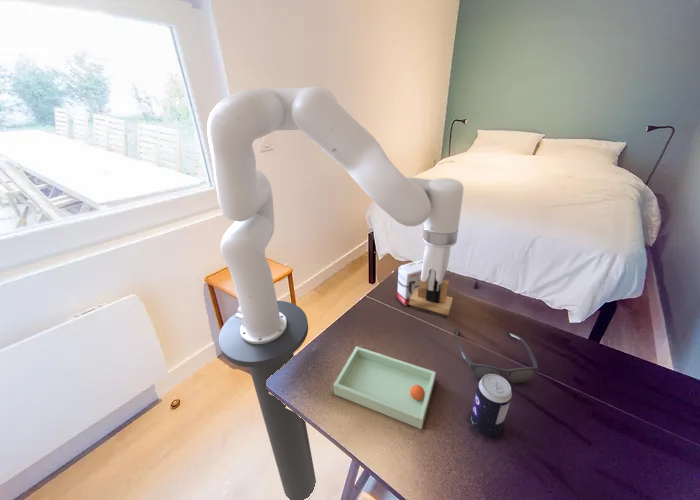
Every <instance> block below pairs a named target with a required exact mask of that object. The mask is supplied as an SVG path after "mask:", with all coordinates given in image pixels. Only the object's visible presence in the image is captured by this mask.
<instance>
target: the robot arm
mask: <svg viewBox="0 0 700 500" xmlns="http://www.w3.org/2000/svg"><path fill="white" fill-rule="evenodd" d="M278 131H301V132H302V133H303V134H304V135H305V136H306V137H307V138H308V139H310V140H311V142H313V143H314V144H315V145H316V146H317V147H319V148H320V149H321V150H322V151H323V152H325V154H327V155H328V156H329V157H330V158H331V159H333V160H334V162H336V163H337V164H338V165H339V166H340V167H341V168H342V169H344V171H346V172H347V173H348V174H349V176H350V177H351V178H352V180H353V181H354V182H355V183H356V184H357V185H358V186H359V187H360V188H361V189H362V190H363V192H365V194H366V195H367V196H368V197H369V198H370V199H371V200H372V201H373V203H375V204H376V205H377V206H378V207H379V208H380V209H382V210H383V211H384V212H385V213H386V214H388V215H389V216H390V217H391V218H392V219H393V220H395V222H397V223H398V224H400V225H403V226H405V227H417V226H420V225H423V232H422V234H423V235H422V240H423V242H424V243H425V246H424V252H423V257H422V258H423V259H422V261H423V265H422V273H421V281H422V282H425V281H426V280H427V278H428V285H427V293H426V300H427V301H430V302H435V303H439V298H440V289H439V287H440V284H441V283H442V281H443V279H444V278H445V275H446V273H447V270H448V266H449V261H450V256H451V248H452V247H454V246H455V245H456V244H457V241H458V234H459V227H460V220H461V212H462V204H463V197H464V185H463V184H462V182H461V181H459V180H457V179H453V178H449V177H448V178H445V177H444V178H443V177H442V178H441V177H440V178H436V179H427V178H419V177H409V176H408V177H407V176H405V175H404V174H403V173H402V172H401V171H400V170H399V169H398V168H397V167H396V166H395V165H394V163H393V162H392V161H391V159H390V158H389V157H388V156H387V154H386V153H385V150H384V149H383V148H382V146H381V145H380V143H379V142H378V140H377V139H376V138H375V137H374V136H373V135H372V133H370V132H369V131H368V130H367V129H366V128H365V127H364V126H363V125H361V124H360V123H359V122H358V121H357V120H356V119H355V118H354V117H353V115H351V114H350V113H348V111H347V110H346V109H345V108H344V107H343V106H341V104H339V103H338V101H337V98H336V97H335V94H333V92H332V91H330V89H328V88H325V87H323V86H308V87H307V86H306V87H278V88H277V87H273V88H272V87H271V88H268V87H267V88H253V89H252V88H251V89H244V90H240V91H237V92H235V93H232V94H230V95H228V96H226V97H225V98H223V99H222V100H221V101H219V102H218V103H217V104H216V105H215V106H214V107H213V109H212V110H211V112H210V113H209V117H208V120H207V139H208V144H209V145H208V146H209V149H210V155H211V160H212V161H211V162H212V167H213V175H214V181H215V188H216V189H215V190H216V195H217V201H218V206H219V208H220V211H221V214H223V216H224V217H225V218H227V219H228V220H230V221H232V222H233V223H232V224H231V225H230V227H229V228H228V229H227V230H226V232H225V233H224V234H223V237H222V238H221V241H220V254H221V256H222V259H223V261H224V262H225V264H226V267H227V269H228V272H229V273H230V276H231V281H232V284H233V288H234V290H235V294H236V298H237V302H238V305H239V306H238V307H237V312H240V313H242V314H239V313H237V312H236V313H237V314H236V315H235V317H236V318H238V319H241V321H242V325H241V328H240V333H241V336H242V338H243V339H244V340H245V341H246V342H248V343H252V344H264V343H268V342H271V341H273V340H275V339H277V338H278V337H279V336H281V335H282V334H283V333H284V331H285V329H286V327H287V320H286V317H285V316H284V315H283V314H282V313H280V312H279V309H278V304H277V301H278V299H277V294H276V289H275V283H274V279H273V274H272V269H271V266H270V264H269V261H268V259H267V257H266V249H267V246H268V245H269V244H270V241H271V240H272V237H273V235H274V233H275V213H274V211H275V210H274V198H273V196H274V195H273V190H272V189H273V188H272V185H271V182H270V180H269V178H268V177H267V176H266V175H265V173H264V172H262V171H261V170H259V169H257V160H256V155H255V151H254V148H253V143H254V141H256V140H258V139H261V138H264V137H265V136H267V135H270V134H272V133H273V132H278ZM435 283H437V285H436V284H435Z"/></svg>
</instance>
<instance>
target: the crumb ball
mask: <svg viewBox="0 0 700 500" xmlns="http://www.w3.org/2000/svg"><path fill="white" fill-rule="evenodd" d="M410 394H411V397H412V398H413V399H415V400H421V399H422V398H423V397H424V394H425V393H424V389H423V388H422V387H421V386H420V385H414V386H412V388H411V390H410Z"/></svg>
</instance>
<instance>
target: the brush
mask: <svg viewBox="0 0 700 500" xmlns="http://www.w3.org/2000/svg"><path fill="white" fill-rule="evenodd" d="M435 284H436V285H437V283H435ZM427 285H428V278H427V280H426V281H425V282H422V281H421V276H420V280H419V288H418V289H417V288H415V289H414V291H413V293H412V295H411V297H410V302H409V305H408V306H410V307H409V308H410V309H411V310H414V311H417V312H421V313H424V314H428V315H431V316H434V317H438V318H441V319H445V320H447V319H448V316H449V315H450V312H451V309H452V306H453V305H452V304H453V301H454V300H453V299H454V297H451V296H448V291H449V285H450V280H449V279H446V278H445V279H444V278H443V281H442V283H441V284H440V287H439V289H440V298H439V303H435V302H430V301H427V300H426V293H427Z"/></svg>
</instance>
